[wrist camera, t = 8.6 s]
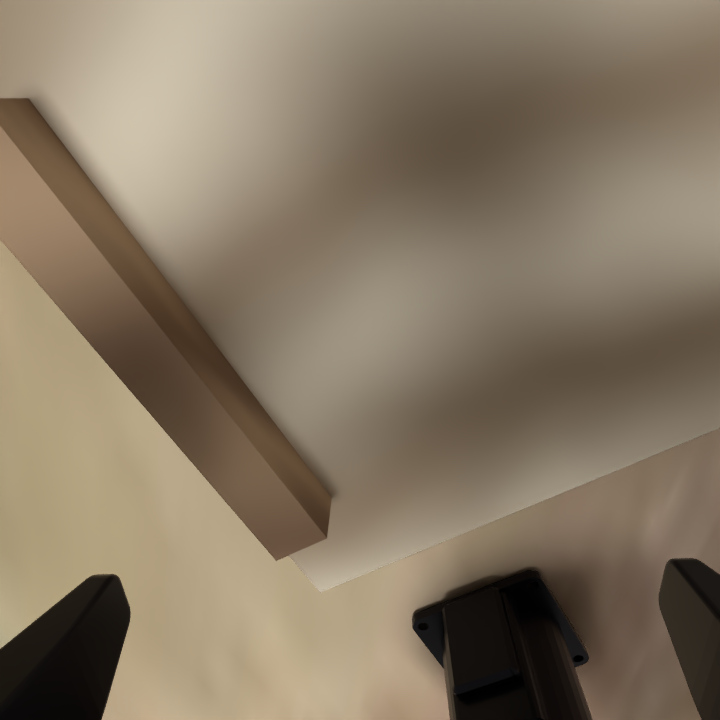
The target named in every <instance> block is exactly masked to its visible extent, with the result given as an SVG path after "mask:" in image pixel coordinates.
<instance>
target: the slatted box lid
mask: <svg viewBox="0 0 720 720" xmlns="http://www.w3.org/2000/svg"><path fill="white" fill-rule="evenodd" d="M0 240H1V241H2V242H3V243H4V244H5V246H6V247H7V248H8V249H9V250H10V251H11V253H12V254H13V255H14V256H15V257H16V258H17V260H18V261H19V262H20V263H21V264H22V265H23V267H24V268H25V269H26V270H27V271H28V272H29V273H30V275H31V276H32V277H33V278H34V279H35V280H36V282H37V283H38V284H39V285H40V286H41V287H42V289H43V290H44V291H45V292H46V293H47V294H48V296H49V297H50V298H51V299H52V300H53V301H54V303H55V304H56V305H57V306H58V307H59V308H60V310H61V311H62V312H63V313H64V314H65V315H66V317H67V318H68V319H69V320H70V321H71V322H72V324H73V325H74V326H75V327H76V328H77V329H78V331H79V332H80V333H81V334H82V335H83V336H84V338H85V339H86V340H87V341H88V342H89V343H90V344H91V346H92V347H93V348H94V349H95V350H96V351H97V353H98V354H99V355H100V356H101V357H102V358H103V360H104V361H105V362H106V363H107V364H108V365H109V367H110V368H111V369H112V370H113V371H114V372H115V374H116V375H117V376H118V377H119V378H120V379H121V381H122V382H123V383H124V384H125V385H126V386H127V388H128V389H129V390H130V391H131V392H132V393H133V395H134V396H135V397H136V398H137V399H138V400H139V402H140V403H141V404H142V405H143V406H144V407H145V409H146V410H147V411H148V412H149V413H150V414H151V415H152V417H153V418H154V419H155V420H156V421H157V422H158V424H159V425H160V426H161V427H162V428H163V429H164V431H165V432H166V433H167V434H168V435H169V436H170V438H171V439H172V440H173V441H174V442H175V443H176V445H177V446H178V447H179V448H180V449H181V450H182V452H183V453H184V454H185V455H186V456H187V457H188V459H189V460H190V461H191V462H192V463H193V464H194V466H195V467H196V468H197V469H198V470H199V471H200V473H201V474H202V475H203V476H204V477H205V478H206V479H207V481H208V482H209V483H210V484H211V485H212V486H213V488H214V489H215V490H216V491H217V492H218V493H219V495H220V496H221V497H222V498H223V499H224V500H225V502H226V503H227V504H228V505H229V506H230V507H231V509H232V510H233V511H234V512H235V513H236V514H237V516H238V517H239V518H240V519H241V520H242V521H243V523H244V524H245V525H246V526H247V527H248V528H249V530H250V531H251V532H252V533H253V534H254V535H255V537H256V538H257V539H258V540H259V541H260V542H261V544H262V545H263V546H264V547H265V548H266V549H267V550H268V552H269V553H270V554H271V555H272V556H273V557H274V559H275V560H276V561H277V560H279V559H281V558H284V557H286V556H288V555H289V556H290V558H291V559H292V560H293V561H294V562H295V563H296V565H297V566H298V567H299V568H300V569H301V571H302V572H303V573H304V574H305V575H306V577H307V578H308V579H309V580H310V581H311V582H312V584H313V585H314V586H315V587H316V588H317V590H318V591H319V592H323V591H325V590H328V589H330V588H333V587H335V586H337V585H340V584H342V583H345V582H347V581H350V580H352V579H354V578H357V577H359V576H362V575H364V574H367V573H369V572H372V571H374V570H376V569H379V568H381V567H384V566H386V565H389V564H391V563H393V562H396V561H398V560H401V559H403V558H406V557H408V556H410V555H413V554H415V553H418V552H420V551H423V550H425V549H427V548H430V547H432V546H435V545H437V544H440V543H442V542H444V541H447V540H449V539H452V538H454V537H457V536H459V535H461V534H464V533H466V532H469V531H471V530H474V529H476V528H478V527H481V526H483V525H486V524H488V523H491V522H493V521H495V520H498V519H500V518H503V517H505V516H508V515H510V514H512V513H515V512H517V511H520V510H522V509H525V508H527V507H529V506H532V505H534V504H537V503H539V502H542V501H544V500H546V499H549V498H551V497H554V496H556V495H559V494H561V493H563V492H566V491H568V490H571V489H573V488H576V487H578V486H580V485H583V484H585V483H588V482H590V481H593V480H595V479H598V478H600V477H602V476H605V475H607V474H610V473H612V472H615V471H617V470H619V469H622V468H624V467H627V466H629V465H632V464H634V463H636V462H639V461H641V460H644V459H646V458H649V457H651V456H653V455H656V454H658V453H661V452H663V451H666V450H668V449H670V448H673V447H675V446H678V445H680V444H683V443H685V442H687V441H690V440H692V439H695V438H697V437H700V436H702V435H704V434H707V433H709V432H712V431H714V430H717V429H719V428H720V0H0Z"/></svg>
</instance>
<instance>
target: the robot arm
mask: <svg viewBox="0 0 720 720" xmlns="http://www.w3.org/2000/svg"><path fill="white" fill-rule="evenodd" d="M533 581H534V582H533ZM530 582H531V583H530ZM659 606H660V610H661V613H662V616H663V618H664V621H665V624H666V627H667V629H668V632H669V635H670V637H671V640H672V643H673V646H674V648H675V651H676V654H677V656H678V659H679V662H680V665H681V667H682V670H683V673H684V676H685V678H686V681H687V684H688V686H689V689H690V692H691V695H692V697H693V700H694V702H695V705H696V707H697V710H698V712H699V714H700V716H701V719H702V720H720V574H718V573H717V572H715V571H714V570H713V569H711V568H710V567H708V566H707V565H705V564H704V563H703V562H701V561H699V560H697V559H694V558H681V559H670V560H669V561H668V562H667V563H666V566H665V570H664V574H663V579H662V583H661V588H660V592H659ZM129 622H130V606H129V603H128V601H127V598H126V595H125V592H124V589H123V586H122V583H121V581H120V578H119V577H118V576H117V575H114V574H101V575H92V576H90V577H89V578H87V579H86V580H85V581H83V582H82V583H81V584H80V585H79V586H77V587H76V588H75V589H74V590H72V591H71V592H70V593H69V594H67V595H66V596H65V597H64V598H63V599H61V600H60V601H59V602H58V603H56V604H55V605H54V606H53V607H51V608H50V609H49V610H48V611H47V612H45V613H44V614H43V615H42V616H40V617H39V618H38V619H37V620H35V621H34V622H33V623H32V624H30V625H29V626H28V627H27V628H26V629H24V630H23V631H22V632H21V633H19V634H18V635H17V636H16V637H14V638H13V639H12V640H11V641H10V642H8V643H7V644H6V645H5V646H3V647H2V648H1V649H0V720H101V719H102V716H103V713H104V710H105V707H106V703H107V700H108V697H109V693H110V690H111V686H112V683H113V679H114V676H115V672H116V669H117V665H118V661H119V658H120V654H121V651H122V647H123V644H124V640H125V637H126V633H127V630H128V626H129ZM412 625H413V629H414V631H415V632H416V633H417V635H418V636H419V637H420V639H421V640H422V641H423V642H424V644H425V645H426V646H427V648H428V649H429V650H430V652H431V653H432V654H433V655H434V657H435V658H436V659H437V661H438V662H439V663H440V664H441V666H442V667H443V668H444V672H445V680H446V689H447V698H448V706H449V715H450V720H593V719H592V716H591V713H590V711H589V708H588V705H587V702H586V699H585V696H584V693H583V690H582V687H581V684H580V682H579V679H578V676H577V673H576V670H575V667H577V666H580V665H583V664H585V663H586V662H587V661H588V659H589V656H588V653H587V651H586V648H585V646H584V645H583V643H582V641H581V640H580V638H579V636H578V635H577V633H576V632H575V630H574V628H573V627H572V625H571V623H570V622H569V620H568V618H567V617H566V615H565V613H564V612H563V610H562V608H561V607H560V605H559V604H558V602H557V600H556V599H555V597H554V595H553V594H552V592H551V590H550V589H549V587H548V585H547V584H546V582H545V581H544V579H543V577H542V576H541V574H540V573H539V572H537V571H531V570H530V571H526V572H523V573H521V574H518V575H515V576H513V577H510V578H508V579H505V580H502V581H500V582H497V583H494V584H492V585H489V586H487V587H484V588H481V589H479V590H476V591H473V592H471V593H468V594H466V595H463V596H460V597H458V598H455V599H453V600H450V601H447V602H445V603H442V604H439V605H437V606H434V607H432V608H429V609H426V610H424V611H421V612H418V613H416V614H415V615H414V616H413V618H412Z"/></svg>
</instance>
